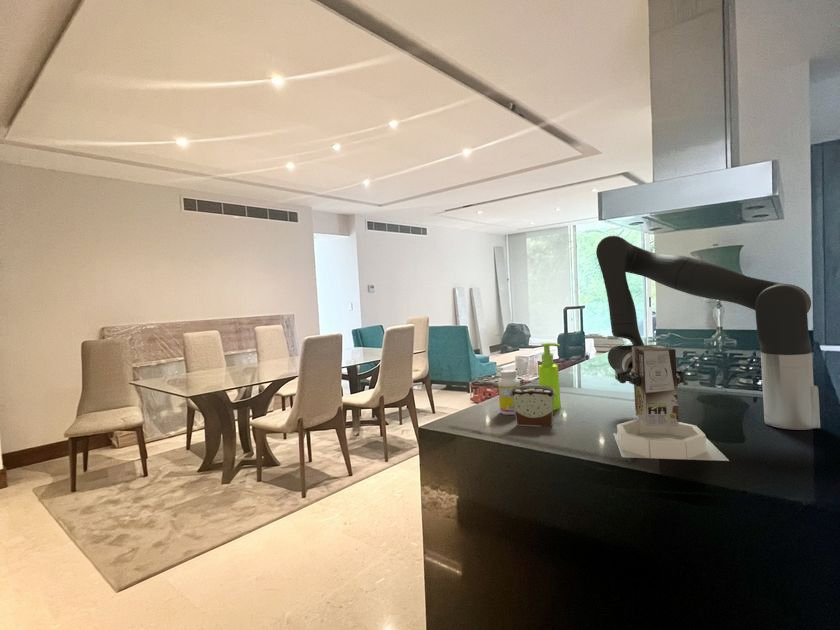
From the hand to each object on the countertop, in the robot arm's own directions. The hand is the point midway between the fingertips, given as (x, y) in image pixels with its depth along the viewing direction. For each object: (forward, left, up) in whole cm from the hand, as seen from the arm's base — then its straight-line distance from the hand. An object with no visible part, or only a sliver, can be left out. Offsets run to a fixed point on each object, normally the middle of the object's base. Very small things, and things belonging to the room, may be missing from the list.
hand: (656, 381), depth 92 cm
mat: (-1, -2, -15) cm, 15 cm away
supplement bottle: (+35, -31, -15) cm, 49 cm away
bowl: (0, -2, -14) cm, 15 cm away
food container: (+27, -20, -15) cm, 37 cm away
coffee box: (0, -2, -9) cm, 9 cm away
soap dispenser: (+23, -37, -15) cm, 46 cm away
